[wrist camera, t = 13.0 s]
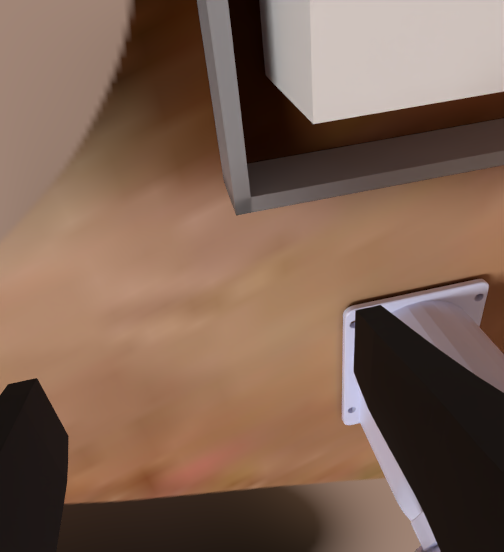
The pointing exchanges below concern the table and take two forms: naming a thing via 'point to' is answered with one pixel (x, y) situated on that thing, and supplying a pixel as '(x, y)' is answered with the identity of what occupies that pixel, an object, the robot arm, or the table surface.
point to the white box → (381, 53)
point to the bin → (333, 162)
